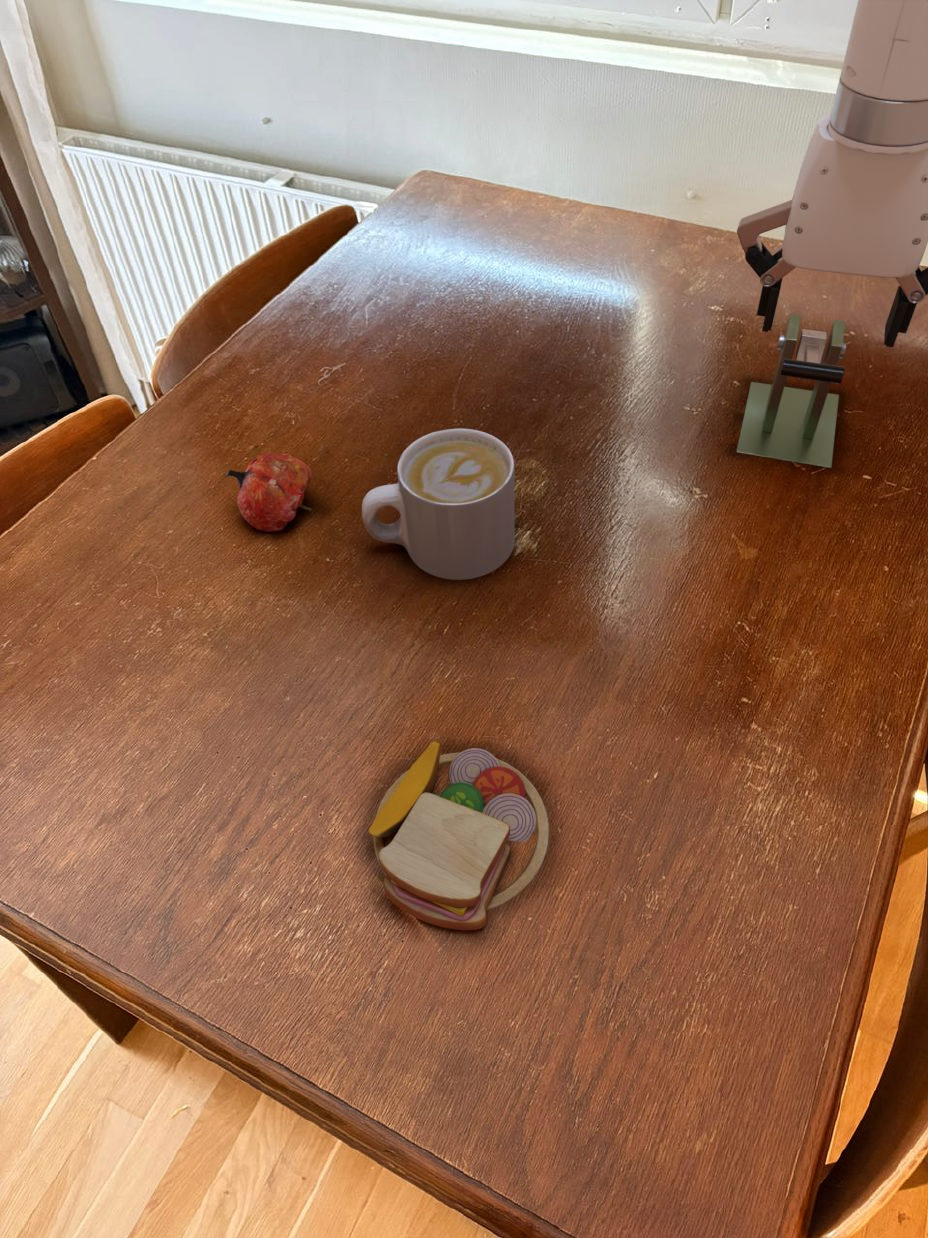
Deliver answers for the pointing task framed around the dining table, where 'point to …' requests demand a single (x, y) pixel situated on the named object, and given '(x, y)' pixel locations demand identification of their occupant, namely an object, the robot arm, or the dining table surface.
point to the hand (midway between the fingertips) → (827, 330)
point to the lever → (811, 360)
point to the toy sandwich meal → (456, 836)
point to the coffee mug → (450, 504)
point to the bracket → (793, 409)
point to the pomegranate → (272, 490)
